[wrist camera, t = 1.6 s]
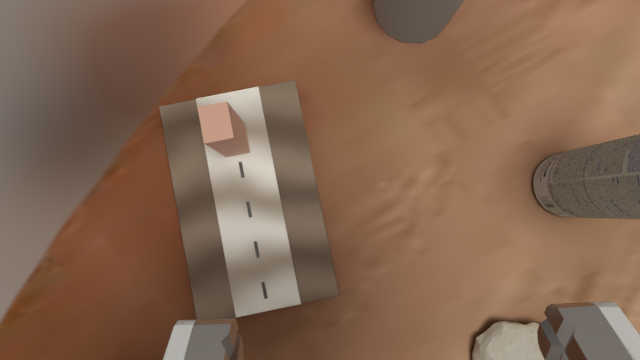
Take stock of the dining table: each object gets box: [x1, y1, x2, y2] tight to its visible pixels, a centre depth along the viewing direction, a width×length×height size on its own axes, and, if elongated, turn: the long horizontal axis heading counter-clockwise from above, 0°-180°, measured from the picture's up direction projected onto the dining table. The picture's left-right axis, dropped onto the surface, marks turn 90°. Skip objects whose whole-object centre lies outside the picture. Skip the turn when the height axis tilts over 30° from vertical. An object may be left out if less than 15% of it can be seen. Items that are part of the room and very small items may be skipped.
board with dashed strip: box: [159, 80, 339, 320], centre depth 41 cm, size 22×14×2 cm, turn 12°
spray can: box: [533, 134, 640, 219], centre depth 32 cm, size 7×7×20 cm
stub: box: [197, 102, 250, 157], centre depth 36 cm, size 3×2×8 cm
